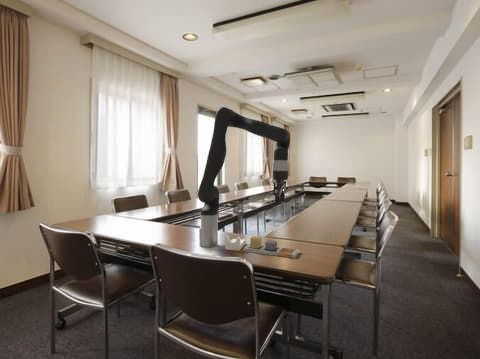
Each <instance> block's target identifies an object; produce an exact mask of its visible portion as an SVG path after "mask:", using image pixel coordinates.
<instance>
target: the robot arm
mask: <svg viewBox="0 0 480 359" xmlns="http://www.w3.org/2000/svg"><path fill="white" fill-rule="evenodd" d="M229 127H230V128H237V129H240V130H241V129H242V130H244V131H246V132H248V133H251V134H253V135H255V136H259V137H262V138H265V139H268V140H270V141H273V142H275V148H274V150H273V163H272V179H273V180H275V182H273V188H272V189H273V190H272V191H273V193H272V195H273V196H274V205H281V204H280V203H284V202H286V201H285V197H286V193H287V180H289V148H290V143H291V135H290V132H289V130H287V129H286V128H284V127H279V126H277V125H271V124H269V123H267V122H264V121H261V120H258V119H253V118H248V117H246V116H243V115H241V114H239V113H238V112H236V111H234V110H233V109H231V108H228V107H226V106H222V107H220V108H219V109H217V111H216V113H215V118H214V124H213V133H212V136H211V141H210V146H209V150H208V154H207V158H206V164H205V167H204V170H203V171H204V172H203V176H202V177H201V178H202V179H201V181H200V184H199V187H198V190H197V198H198V200H199V201H200V202H201V203H204V205H203V207H202V208H201V209H200V228H199V232H198V233H199V246H201V247H203V248H214V247H217V246H218V245H219V238H218V236H219V233H218V230H219V227H218V226H219V224H218V223H219V221H218V220H219V219H218V218H219V217H218V215H219V214H218V212H219V209H220V191H219V188H218V187H217V186H216V185H215V182H216V179H217V176H218V175H219V173H220V172H221V169H222V168H223V166H224V164H225V161H226V156H227V142H226V135H227V131H228V129H229Z"/></svg>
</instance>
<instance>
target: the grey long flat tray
mask: <svg viewBox="0 0 480 359" xmlns="http://www.w3.org/2000/svg"><path fill="white" fill-rule="evenodd" d="M243 252H245V253H246V252H247V253H253V254H260V255H267V256H268V255H269V256H275V257H283V258H291V259H296V258H297V257H298V255H299V254H300V249H297V248H293V247H292V248H290V247H281V246H277V251H276V252H275V251H267V250H265V244H264V245H263V244H262V248H261V249H260V250H259V249H251V248H250V243H249V244H247V245H245V247H243Z"/></svg>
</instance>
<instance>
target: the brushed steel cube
mask: <svg viewBox="0 0 480 359" xmlns="http://www.w3.org/2000/svg"><path fill="white" fill-rule="evenodd" d="M264 245H265V250H267V251H275V252H276V251H277V247H278V241H277V240H276V241H275V240H266V242H265V244H264Z"/></svg>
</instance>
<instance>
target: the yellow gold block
mask: <svg viewBox="0 0 480 359" xmlns="http://www.w3.org/2000/svg"><path fill="white" fill-rule="evenodd" d="M249 242H250V243H249V244H250V248H251V249H259V250H260V249H261V248H262V245H263V243H262V242H263V238H262V236H260V235H259V236H257V235H253V236H251V237H250V238H249Z"/></svg>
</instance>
